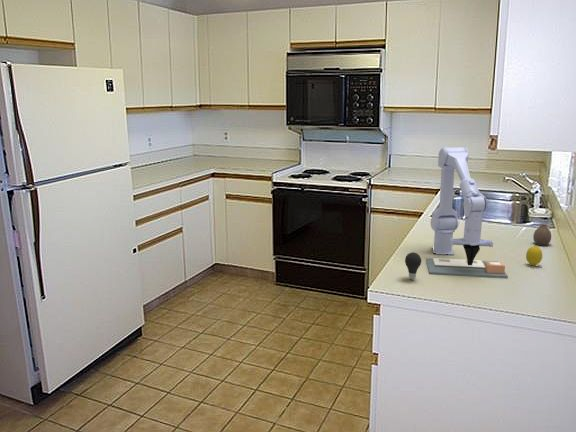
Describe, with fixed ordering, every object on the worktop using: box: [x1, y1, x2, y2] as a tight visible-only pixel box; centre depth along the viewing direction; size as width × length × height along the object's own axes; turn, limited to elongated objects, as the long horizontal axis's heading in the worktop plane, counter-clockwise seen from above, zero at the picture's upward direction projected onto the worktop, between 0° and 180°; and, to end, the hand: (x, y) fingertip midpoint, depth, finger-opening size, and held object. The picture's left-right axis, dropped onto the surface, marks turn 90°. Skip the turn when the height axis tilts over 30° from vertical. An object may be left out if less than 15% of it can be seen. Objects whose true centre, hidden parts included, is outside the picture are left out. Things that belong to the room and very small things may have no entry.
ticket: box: [433, 257, 485, 269], centre depth 192 cm, size 8×18×1 cm, turn 79°
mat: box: [425, 257, 509, 279], centre depth 189 cm, size 16×27×1 cm, turn 80°
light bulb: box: [404, 252, 422, 280], centre depth 178 cm, size 6×6×10 cm
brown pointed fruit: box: [532, 223, 552, 247], centre depth 217 cm, size 7×7×9 cm
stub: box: [484, 260, 506, 274], centre depth 183 cm, size 4×6×3 cm, turn 79°
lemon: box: [525, 245, 543, 267], centre depth 191 cm, size 6×6×8 cm
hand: (469, 264), depth 185 cm, fingers closed
